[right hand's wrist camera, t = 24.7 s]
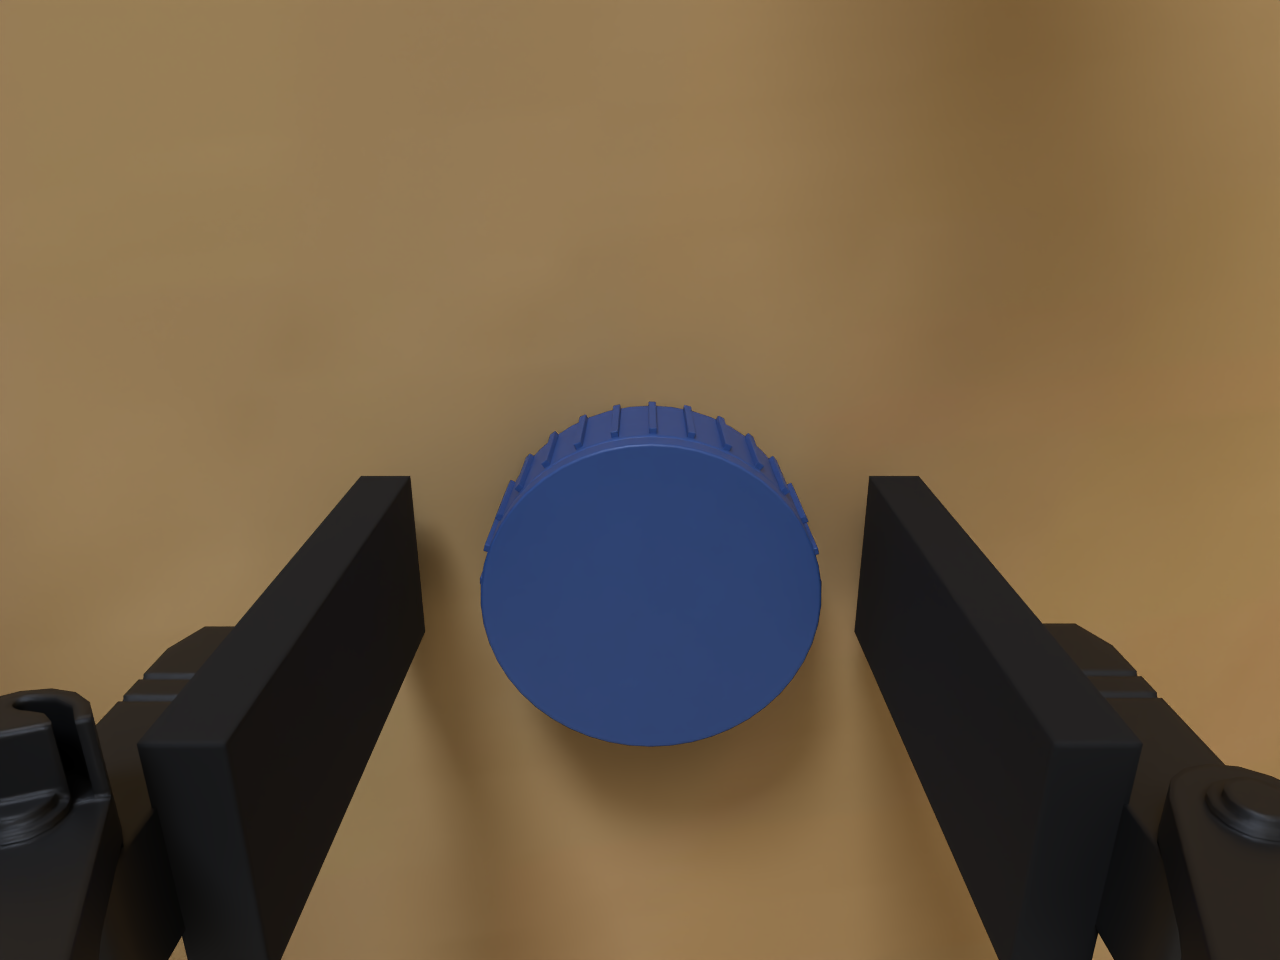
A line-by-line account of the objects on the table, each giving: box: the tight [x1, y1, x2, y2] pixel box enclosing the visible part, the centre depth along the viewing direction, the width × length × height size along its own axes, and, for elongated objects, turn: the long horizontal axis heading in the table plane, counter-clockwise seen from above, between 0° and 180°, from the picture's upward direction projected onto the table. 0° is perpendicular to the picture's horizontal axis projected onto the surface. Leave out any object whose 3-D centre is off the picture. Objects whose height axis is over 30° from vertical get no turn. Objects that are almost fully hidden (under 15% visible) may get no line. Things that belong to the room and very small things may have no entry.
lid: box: [480, 402, 821, 747], centre depth 14 cm, size 5×5×2 cm
